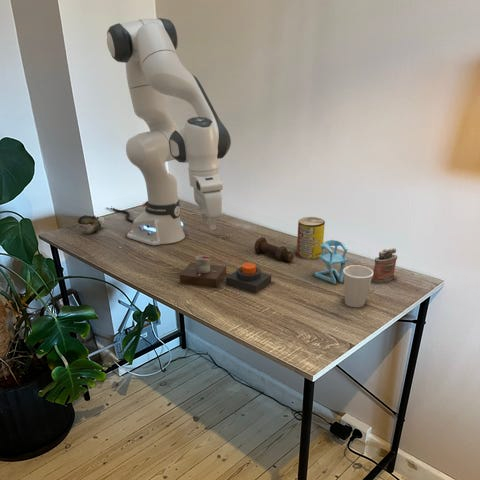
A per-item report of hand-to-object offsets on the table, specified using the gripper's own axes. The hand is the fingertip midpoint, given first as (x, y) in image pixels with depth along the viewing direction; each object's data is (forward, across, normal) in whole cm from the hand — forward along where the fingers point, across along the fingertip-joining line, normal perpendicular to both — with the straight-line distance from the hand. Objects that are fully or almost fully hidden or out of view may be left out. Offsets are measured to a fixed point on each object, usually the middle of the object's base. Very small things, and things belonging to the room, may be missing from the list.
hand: (208, 224), depth 150 cm
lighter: (+20, +18, +51) cm, 58 cm away
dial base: (+18, 0, -3) cm, 18 cm away
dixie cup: (+20, +29, +35) cm, 49 cm away
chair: (+20, +12, +36) cm, 42 cm away
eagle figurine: (+15, -57, -35) cm, 69 cm away
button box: (+18, +8, +9) cm, 22 cm away
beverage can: (+19, -8, +37) cm, 43 cm away
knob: (+15, 0, -3) cm, 15 cm away
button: (+14, +8, +10) cm, 19 cm away
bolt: (+19, -10, +24) cm, 32 cm away
